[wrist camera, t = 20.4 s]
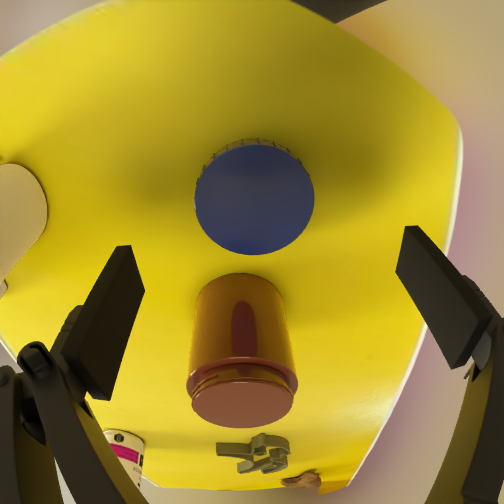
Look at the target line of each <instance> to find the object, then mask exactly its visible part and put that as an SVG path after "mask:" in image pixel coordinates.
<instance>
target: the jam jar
mask: <svg viewBox="0 0 504 504" xmlns="http://www.w3.org/2000/svg"><path fill="white" fill-rule="evenodd" d="M297 388H298V379H297V373H296V368H295V362H294V357H293V351H292V346H291V341H290V335H289V330H288V325H287V320H286V315H285V309H284V304H283V300H282V297H281V294H280V293H279V291H278V290H277V288H276V287H275V286H274V285H272V284H271V283H270V282H268V281H267V280H265V279H263V278H261V277H258V276H255V275H250V274H230V275H226V276H222V277H220V278H217V279H215V280H213V281H212V282H210V283H209V284H207V285H206V286H205V287H204V288H203V290H202V291H201V292H200V294H199V296H198V298H197V302H196V309H195V316H194V323H193V331H192V339H191V347H190V355H189V364H188V373H187V382H186V389H187V392H188V394H189V396H190V397H191V398H192V408H193V410H194V412H196V413H197V414H198V415H199V416H200V417H201V418H203V419H204V420H206V421H208V422H210V423H213V424H216V425H219V426H223V427H229V428H253V427H259V426H264V425H267V424H270V423H273V422H275V421H277V420H279V419H281V418H282V417H284V416H285V415H286V414H287V413H288V412H289V411H290V409H291V407H292V403H293V398H294V395H295V393H296V391H297Z"/></svg>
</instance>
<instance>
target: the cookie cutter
mask: <svg viewBox="0 0 504 504" xmlns="http://www.w3.org/2000/svg"><path fill="white" fill-rule="evenodd" d="M266 447H280V448H278V449H271V450H269V453H270V457H268V458H265V459H262V460H260V461H256V462H254V461H253V455H257V456H262V455H266ZM216 454H217V456H226V457H235V458H241V459H245V460H247V461H245V462H242V463H238V464H237V471H238V473H240V474H243V473H249V472H253V471H257V470H260V469H261V472H262V473H263V474H267V473H273V472H277V471H281V470H283V469H285V468H287V467H288V462H287V456H286V455H288V454H290V447H289V442H288V441H287V440H286V439H284V438H282V437H278V436H265V434H264V433H261V434H260V435H258V436H256V437H253V438H252V442H251V443H250V444H238V443H216ZM276 462H278V463H276Z"/></svg>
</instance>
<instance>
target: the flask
mask: <svg viewBox="0 0 504 504" xmlns="http://www.w3.org/2000/svg"><path fill="white" fill-rule="evenodd" d="M6 289H7V287H6V284H5V282H4V280H3V281H2V283H1V284H0V299H1V297H2V296H3V294H4V293H5V291H6Z"/></svg>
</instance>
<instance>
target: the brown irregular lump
mask: <svg viewBox="0 0 504 504" xmlns="http://www.w3.org/2000/svg"><path fill="white" fill-rule="evenodd" d="M281 484H282V485H284V486H286V487H289V488H294V489H300V488H306V487H312V488H314V487H319V486H320V485H321V478H320V477H319V476H318V474H317V473H314V472H307V473H304V474H303V476H301V477H299V478H291V479H285V480H283V481H282V482H281Z"/></svg>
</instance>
